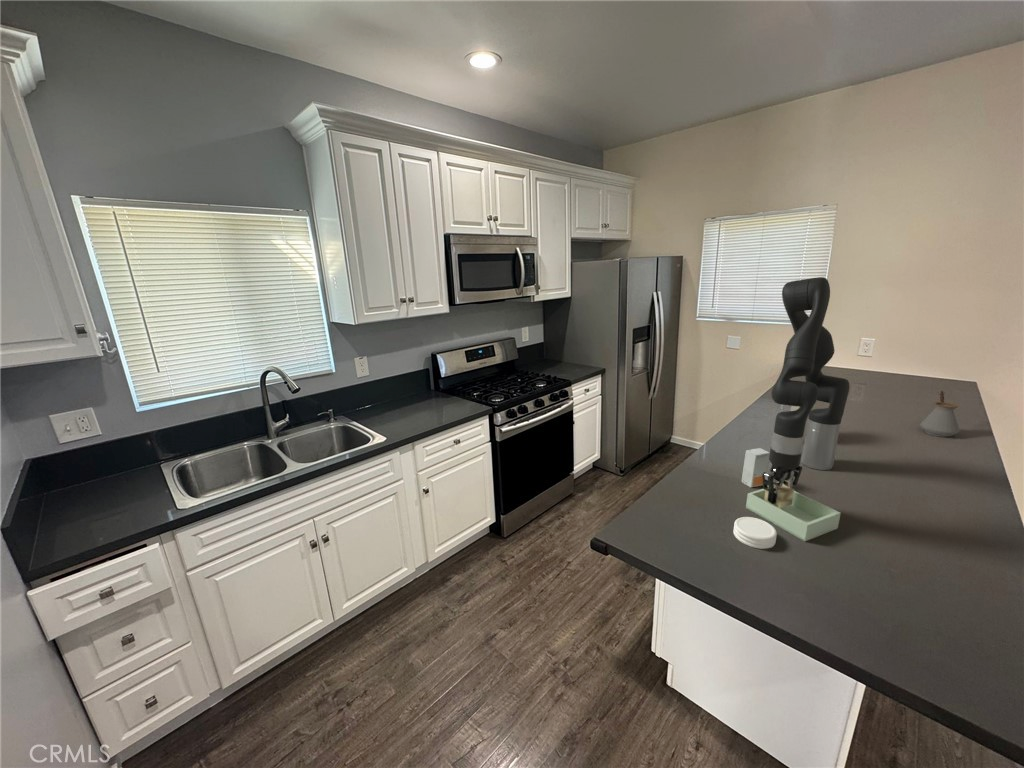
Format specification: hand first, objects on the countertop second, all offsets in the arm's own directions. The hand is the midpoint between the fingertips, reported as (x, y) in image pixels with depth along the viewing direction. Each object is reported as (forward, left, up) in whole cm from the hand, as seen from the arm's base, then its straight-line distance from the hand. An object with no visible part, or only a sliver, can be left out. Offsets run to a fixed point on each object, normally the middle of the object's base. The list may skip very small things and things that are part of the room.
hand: (778, 500), depth 121 cm
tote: (0, +4, -4) cm, 5 cm away
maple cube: (0, 0, -1) cm, 1 cm away
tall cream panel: (-57, -32, -4) cm, 66 cm away
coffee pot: (-116, -13, -4) cm, 117 cm away
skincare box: (-8, -14, -4) cm, 17 cm away
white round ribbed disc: (+17, +6, -4) cm, 18 cm away
